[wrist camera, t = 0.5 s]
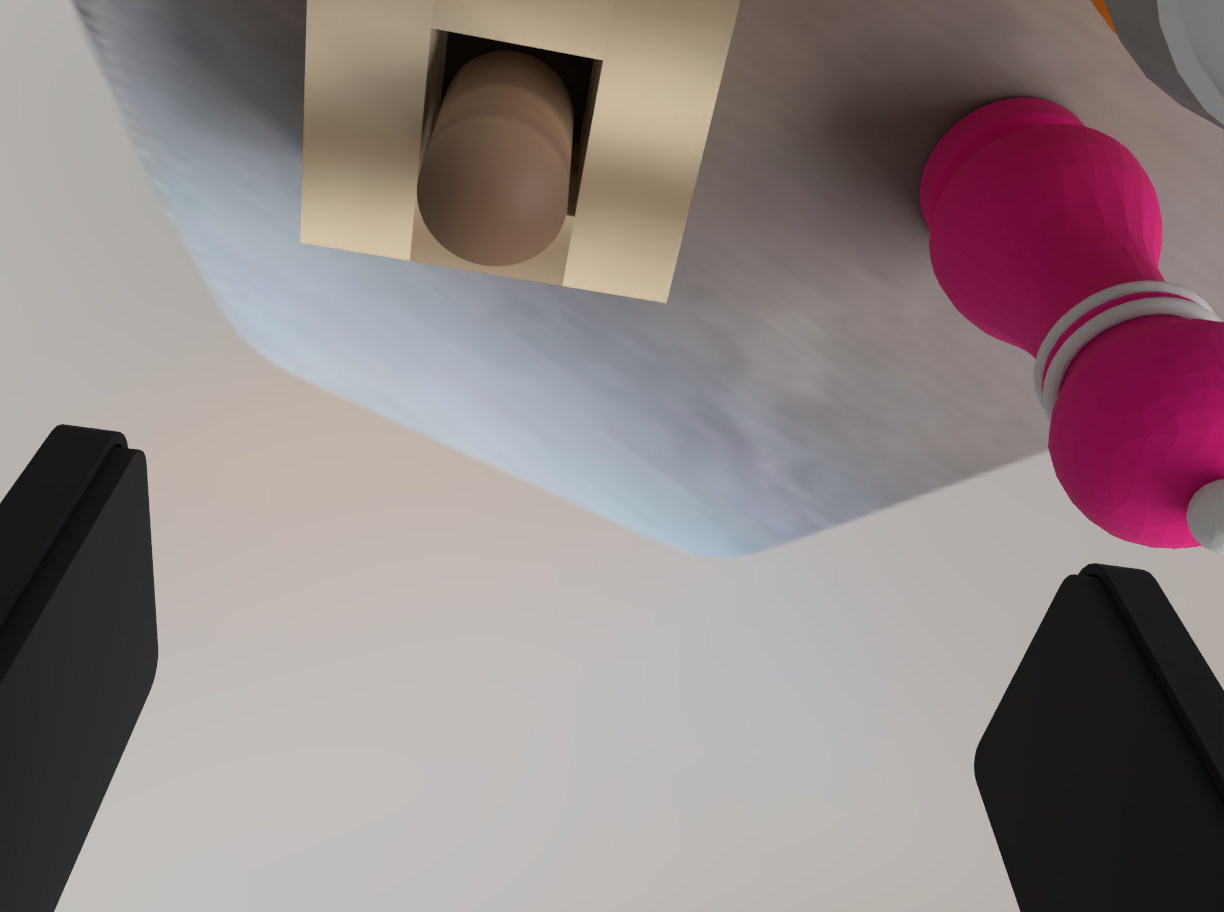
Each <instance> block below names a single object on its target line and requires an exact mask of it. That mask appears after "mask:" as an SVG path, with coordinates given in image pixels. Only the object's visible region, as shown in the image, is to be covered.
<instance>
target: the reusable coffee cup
mask: <svg viewBox="0 0 1224 912" xmlns="http://www.w3.org/2000/svg"><path fill="white" fill-rule="evenodd" d="M1091 2H1092V3H1093V4H1094V6H1095V7H1096V8H1097V10H1098V11H1099V13H1100V14H1101V15H1102V17H1103V18H1104V19H1105V21H1106V22H1107V24H1108V25H1109V26H1110V28H1111V29H1112V30H1113V31H1114V32H1115V33H1116V34H1117V35H1118V37H1119V39H1120V41H1121V43H1122V44H1123V45H1124V47H1125V48H1126V49H1127V51H1128V52H1129V54H1130V55H1131V56H1132V58H1133V59H1134V60H1135V62H1136V63H1137V65H1138V66H1139V67H1140V69H1141V70H1142V71H1143V73H1144V74H1145V76H1146V77H1147V78H1148V79H1150V80H1151V81H1152V82H1153V83H1154V84H1156V85H1157V86H1158V87H1159V88H1161V89H1162V90H1163V91H1164V92H1165V93H1167V94H1168V95H1169V96H1170V97H1172V98H1173V99H1174V100H1175V101H1177V102H1178V103H1179V104H1180V105H1182V106H1183V107H1185V108H1187V109H1189V110H1190V111H1192V112H1194V113H1196V114H1198V115H1199V116H1201V117H1203V118H1205V119H1206V120H1208V121H1210V122H1212V123H1214V124H1215V125H1217V126H1219V127H1221V128H1222V129H1224V0H1091Z"/></svg>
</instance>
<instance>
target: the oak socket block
mask: <svg viewBox="0 0 1224 912" xmlns="http://www.w3.org/2000/svg"><path fill="white" fill-rule="evenodd" d="M740 1H741V0H307V18H306V54H305V91H304V127H303V164H302V201H301V237H300V243H306V244H312V245H318V246H324V247H330V248H336V249H342V250H348V251H354V252H360V253H366V254H372V255H378V256H384V257H390V258H397V259H403V260H409V261H415V262H421V263H427V264H433V265H439V266H445V267H451V268H457V269H463V270H469V271H475V272H481V273H487V274H493V275H499V276H505V277H512V278H518V279H524V280H530V281H536V282H542V283H548V284H554V285H560V286H566V287H572V288H578V289H584V290H590V291H596V292H602V293H608V294H614V295H620V296H627V297H633V298H639V299H645V300H651V301H657V302H663V303H667V299H668V295H669V291H670V286H671V282H672V278H673V274H674V270H675V266H676V262H677V258H678V254H679V250H680V246H681V242H682V237H683V233H684V229H685V225H686V221H687V217H688V213H689V209H690V205H691V201H692V197H693V193H694V188H695V184H696V180H697V176H698V172H699V168H700V164H701V160H702V156H703V152H704V148H705V144H706V139H707V135H708V131H709V127H710V123H711V119H712V115H713V111H714V107H715V103H716V99H717V95H718V90H719V86H720V82H721V78H722V74H723V70H724V66H725V62H726V58H727V54H728V50H729V46H730V41H731V37H732V33H733V29H734V25H735V21H736V17H737V13H738V9H739V5H740ZM448 31H449V32H455V33H460V34H465V35H471V36H476V37H481V38H487V39H492V40H497V41H503V42H508V43H513V44H519V45H524V46H529V47H535V48H540V49H545V50H551V51H556V52H561V53H567V54H572V55H577V56H583V57H588V58H593V59H594V62H593V68H592V74H591V79H590V85H589V91H588V96H587V102H586V108H585V113H584V119H583V125H582V130H581V136H580V142H579V144H578V143H572V152H571V165H570V179H569V193H568V206H567V213H566V217H565V221H564V223H563V226H562V228H561V230H560V232H559V234H558V235H557V237H556V238H555V239H554V241H553V242H552V243H551V244H550V245H549V246H548V247H547V248H546V249H545V250H544V251H542V252H541V253H540V254H538V255H537V256H535V257H533V258H531V259H529V260H527V261H524V262H522V263H518V264H514V265H509V266H484V265H479V264H475V263H472V262H469V261H466V260H464V259H462V258H460V257H458V256H456V255H454V254H453V253H451V252H450V251H448V250H447V249H446V248H444V247H443V246H442V245H441V244H440V243H439V242H438V241H437V240H436V239H435V238H434V237H433V235H432V234H431V233H430V231H429V230H428V228H427V227H426V225H425V223H424V221H423V219H422V216H421V214H420V210H419V206H418V201H417V183H418V177H419V174H420V170H421V167H422V164H423V161H424V158H425V155H426V152H427V149H428V146H429V143H430V140H431V137H432V134H433V131H434V128H435V125H436V122H437V119H438V116H439V113H440V107H441V97H442V87H443V77H444V67H445V57H446V47H447V37H448Z"/></svg>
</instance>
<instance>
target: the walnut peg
mask: <svg viewBox="0 0 1224 912" xmlns="http://www.w3.org/2000/svg"><path fill="white" fill-rule="evenodd" d="M573 124H574V111H573V105H572V101H571V98H570V95H569V92H568V90H567V88H566V86H565V84H564V83H563V81H562V80H561V78H560V77H559V76H558V75H557V74H556V72H555V71H553V70H552V69H551V68H550V67H549V66H548V65H547V64H545V63H544V62H542V61H541V60H539V59H537V58H535V57H533V56H531V55H528V54H525V53H521V52H517V51H509V50H508V51H494V52H489V53H485V54H482V55H480V56H478V57H476V58H474V59H472V60H471V61H469V62H467V63H466V64H465V65H464V66H463V67H462V68H461V69H460V70H459V71H458V72H457V73H456V74H455V76H454V77H453V79H452V80H451V82H450V84H449V86H448V88H447V91H446V94H445V97H444V100H443V103H442V106H441V110H440V113H439V116H438V119H437V122H436V125H435V128H434V131H433V134H432V137H431V140H430V143H429V146H428V149H427V152H426V155H425V158H424V161H423V164H422V167H421V170H420V174H419V177H418V183H417V201H418V206H419V210H420V214H421V216H422V219H423V221H424V223H425V225H426V227H427V228H428V230H429V231H430V233H431V234H432V235H433V237H434V238H435V239H436V240H437V241H438V242H439V243H440V244H441V245H442V246H443V247H444V248H446V249H447V250H448V251H450V252H451V253H453V254H454V255H456V256H458V257H460V258H462V259H464V260H466V261H469V262H472V263H475V264H479V265H484V266H509V265H514V264H518V263H522V262H524V261H527V260H529V259H531V258H533V257H535V256H537V255H538V254H540V253H541V252H542V251H544V250H545V249H546V248H547V247H548V246H549V245H550V244H551V243H552V242H553V241H554V239H555V238H556V237H557V235H558V234H559V232H560V230H561V228H562V226H563V223H564V221H565V217H566V213H567V206H568V193H569V179H570V165H571V152H572V138H573Z"/></svg>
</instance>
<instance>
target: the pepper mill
mask: <svg viewBox="0 0 1224 912" xmlns="http://www.w3.org/2000/svg"><path fill="white" fill-rule="evenodd" d="M920 205H921V211H922V215H923V218H924V220H925V222H926V224H927V227H928V229H929V231H930V238H929V247H930V257H931V262H932V266H933V270H934V273H935V276H936V278H937V280H938V282H939V284H940V286H941V287H942V289H943V290H944V292H945V293H946V295H947V296H948V297H949V299H950V300H951V302H952V303H953V305H954V306H955V307H956V309H957V310H958V311H959V312H960V313H961V314H962V315H963V316H964V317H965V318H967V319H968V320H969V321H970V322H971V323H973V324H974V325H975V326H977V327H978V328H979V329H981V330H982V331H984V332H985V333H987V334H988V335H990V336H992V337H994V338H996V339H998V340H1001V341H1004V342H1006V343H1009V344H1011V345H1014V346H1017V347H1019V348H1021V349H1023V350H1025V351H1027V352H1028V353H1029V354H1031V355H1032V356H1033V357H1034V358H1035V359H1036V362H1035V366H1034V388H1035V391H1036V394H1037V397H1038V399H1039V402H1040V404H1041V405H1042V407H1043V408H1044V410H1045V411H1046V413H1047V416H1048V419H1049V421H1050V431H1049V444H1048V448H1049V451H1050V455H1051V459H1052V463H1053V466H1054V469H1055V473H1056V476H1057V478H1058V479H1059V481H1060V483H1061V485H1062V486H1063V488H1064V490H1065V491H1066V493H1067V495H1068V496H1069V498H1070V500H1071V501H1072V502H1073V504H1075V506H1076V507H1077V508H1078V509H1079V510H1080V511H1081V512H1082V513H1083V514H1084V515H1085V516H1086V517H1087V518H1088V519H1089V520H1090V521H1092V522H1093V523H1095V524H1096V525H1098V526H1099V527H1101V528H1102V529H1104V530H1105V531H1107V532H1108V533H1110V534H1111V535H1113V536H1115V537H1118V538H1120V539H1122V540H1125V541H1128V542H1132V543H1136V544H1141V545H1145V546H1149V547H1155V548H1173V549H1177V548H1188V547H1197V546H1203V547H1205V548H1207V549H1209V550H1212V551H1214V552H1216V553H1218V554H1224V322H1222V321H1221V319H1220V318H1219V317H1218V316H1217V315H1215V314H1214V312H1213V310H1212V309H1211V307H1210V306H1209V305H1208V304H1207V303H1206V302H1205V301H1204V300H1203V299H1202V298H1201V297H1200V296H1198V295H1197V294H1196V293H1194V292H1193V291H1191V290H1189V289H1187V288H1185V287H1183V286H1180V285H1177V284H1173V283H1169V282H1165V280H1164V278H1163V277H1162V275H1161V273H1160V272H1159V270H1158V264H1159V258H1160V252H1161V246H1162V219H1161V214H1160V208H1159V202H1158V199H1157V196H1156V192H1155V189H1154V187H1153V185H1152V183H1151V181H1150V179H1149V178H1148V176H1147V174H1146V173H1145V171H1144V170H1143V168H1142V167H1141V165H1140V163H1139V162H1138V160H1137V159H1136V158H1135V157H1134V156H1133V155H1132V153H1131V152H1130V151H1129V150H1128V149H1127V148H1126V147H1124V146H1123V145H1122V144H1120V143H1119V142H1118V141H1116V140H1115V139H1114V138H1112V137H1110V136H1108V135H1106V134H1104V133H1102V132H1100V131H1098V130H1095V129H1091V128H1088V127H1085V126H1084V124H1083V123H1082V122H1081V121H1080V120H1079V119H1078V118H1077V117H1076V116H1075V115H1074V114H1073V113H1072V112H1070V111H1069V110H1067V109H1066V108H1064V107H1062V106H1060V105H1058V104H1056V103H1054V102H1051V101H1048V100H1044V99H1038V98H1024V97H1019V98H1011V99H1006V100H1001V101H997V102H994V103H991V104H989V105H986V106H983V107H981V108H979V109H977V110H975V111H973V112H972V113H970V114H968V115H967V116H965V117H964V118H963V119H961V120H960V121H959V122H957V123H956V124H955V125H954V126H953V127H952V128H951V129H950V130H949V131H948V132H947V133H946V134H945V135H944V136H943V137H942V138H941V140H940V141H939V142H938V143H937V145H936V146H935V148H934V150H933V151H932V153H931V154H930V156H929V159H928V161H927V163H926V165H925V168H924V171H923V174H922V178H921V184H920Z"/></svg>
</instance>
